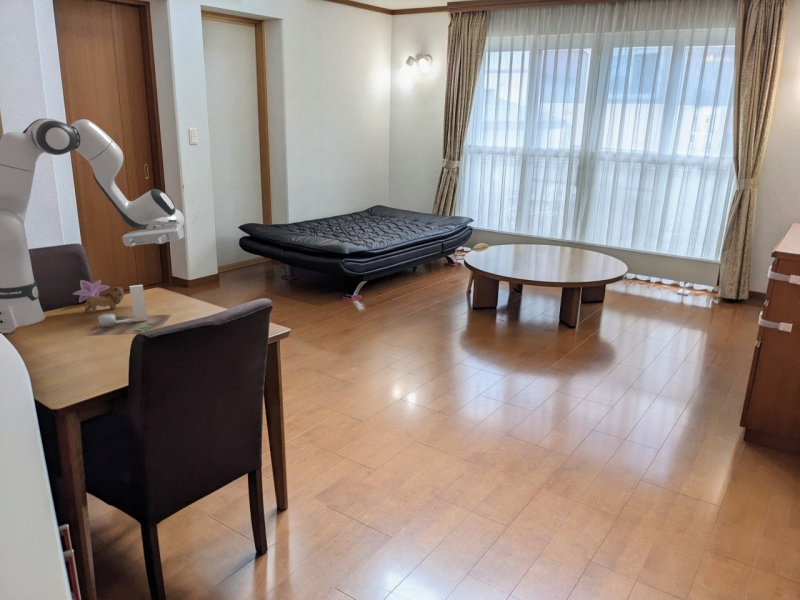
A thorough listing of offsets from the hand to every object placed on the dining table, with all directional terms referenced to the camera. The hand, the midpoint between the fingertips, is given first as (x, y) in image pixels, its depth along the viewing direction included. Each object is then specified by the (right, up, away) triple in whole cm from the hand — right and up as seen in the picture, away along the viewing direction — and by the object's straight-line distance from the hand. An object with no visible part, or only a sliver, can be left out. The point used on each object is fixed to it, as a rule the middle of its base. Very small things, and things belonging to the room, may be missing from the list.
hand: (144, 243), depth 205 cm
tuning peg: (-4, -27, -6) cm, 28 cm away
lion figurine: (-18, -24, +10) cm, 32 cm away
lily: (-29, -21, +22) cm, 42 cm away
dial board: (-1, -29, -7) cm, 30 cm away
